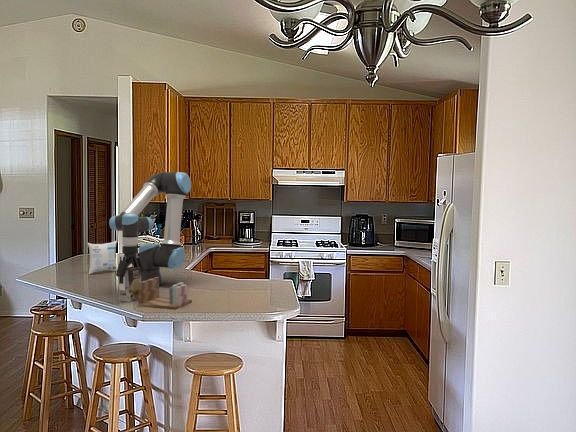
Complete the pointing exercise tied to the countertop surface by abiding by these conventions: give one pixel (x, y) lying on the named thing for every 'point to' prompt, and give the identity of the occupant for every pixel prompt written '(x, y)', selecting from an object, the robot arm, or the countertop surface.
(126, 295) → the coffee box
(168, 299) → the shelf
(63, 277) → the countertop surface
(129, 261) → the robot arm
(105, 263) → the pouch
